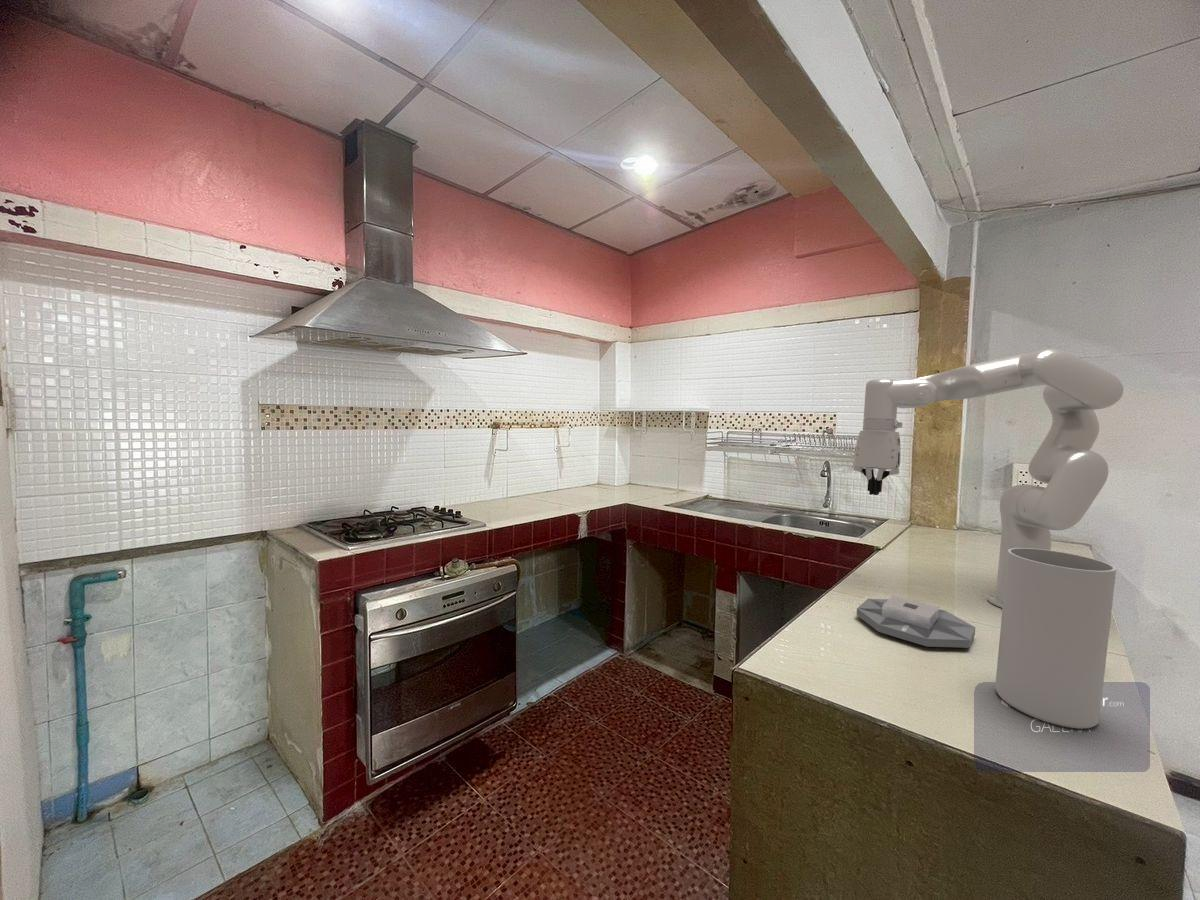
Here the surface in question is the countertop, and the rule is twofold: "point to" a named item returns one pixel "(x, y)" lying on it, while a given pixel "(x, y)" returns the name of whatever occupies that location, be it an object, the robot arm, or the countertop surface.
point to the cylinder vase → (1055, 635)
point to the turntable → (941, 633)
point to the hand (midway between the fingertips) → (874, 494)
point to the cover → (910, 612)
